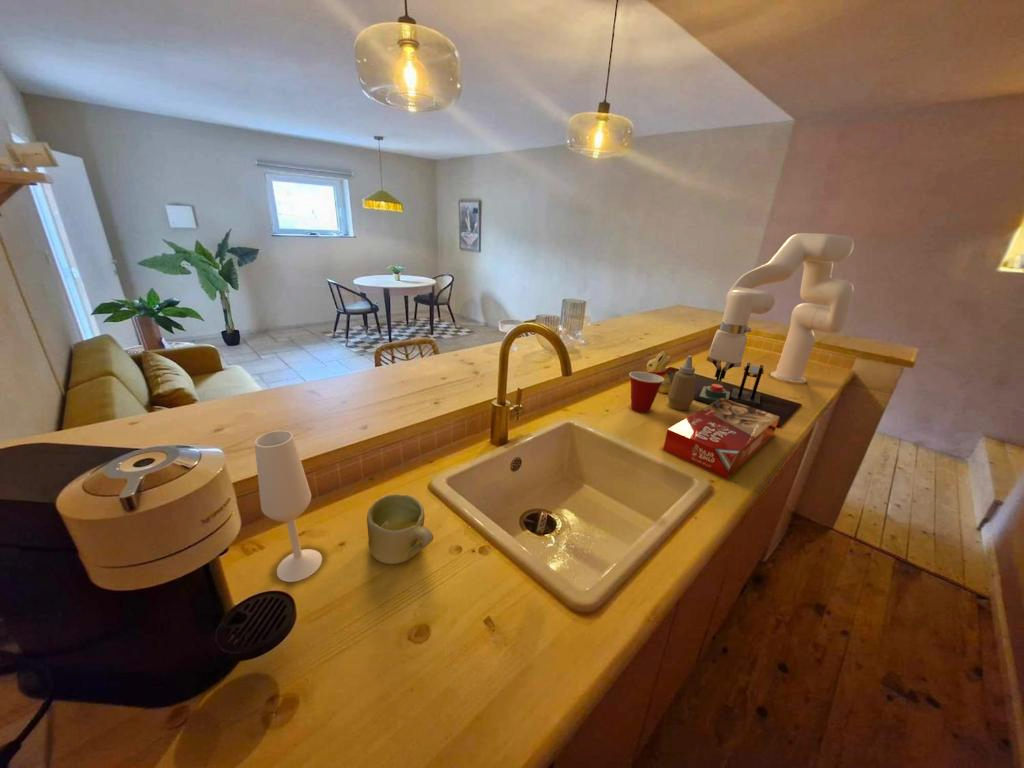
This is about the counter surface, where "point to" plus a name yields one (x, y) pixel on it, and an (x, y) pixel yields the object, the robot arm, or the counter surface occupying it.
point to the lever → (753, 371)
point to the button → (716, 387)
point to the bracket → (747, 395)
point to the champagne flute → (285, 497)
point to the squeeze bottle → (683, 386)
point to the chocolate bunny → (660, 370)
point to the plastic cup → (644, 390)
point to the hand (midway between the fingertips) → (718, 379)
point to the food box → (721, 436)
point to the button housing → (713, 394)
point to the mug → (397, 529)
